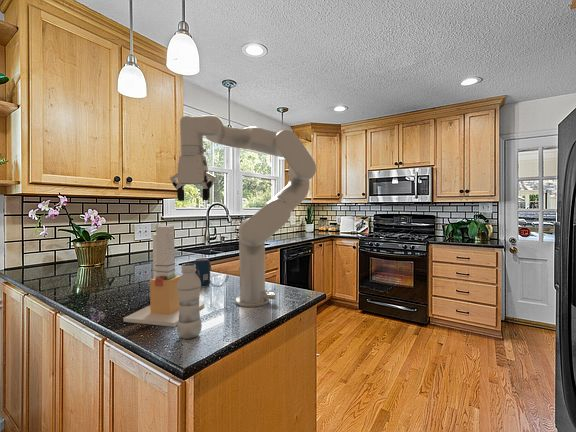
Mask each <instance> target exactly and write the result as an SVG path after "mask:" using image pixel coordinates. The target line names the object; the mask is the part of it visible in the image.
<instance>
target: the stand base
mask: <svg viewBox="0 0 576 432" xmlns="http://www.w3.org/2000/svg"><path fill="white" fill-rule="evenodd" d="M181 276H182V275H176V277H174V278H172V279H169V280H164V277H157V278H151V279H150V280H149V295H150V296H149V298H150V299H149V301H150V303H149V305H147V306H145V307H143V308H141V309H139V310H137V311H134V312H132V313H131V314H129V315H126V316H125V317H123V319H122V320H123V323H124V322H125V323H132V324H143V325H152V326H153V325H155V326H164V327H174V328H175V327H177V326H178V321H179V297H178V291H177V283H178V280H179V279H180V277H181ZM203 308H205V303H202V302H199V311H200V310H202V309H203Z"/></svg>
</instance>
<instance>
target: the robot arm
mask: <svg viewBox="0 0 576 432" xmlns="http://www.w3.org/2000/svg"><path fill="white" fill-rule="evenodd" d="M179 127H180V131H179V133H180V155H179V157H178V163H177V173H176V174H174V175H173V176H172V175H171V177H170V178H169V179H170V182H171V183H172V186H173V187H174V188H175V190H176V194H177V196H176V197H177V201H179V202H184V201H185V190H184V188H185V186H186V185H188V186H189V185H190V186H191V185H201V186H202V187H203V189H202V200H203V201H209V199H210V189H211V188H212V187H213V185H214V183H215V181H216V178H217V177H216V176H215V175H213V174H212V173H210V172H209V167H208V162H207V157H206V156H205V155H204V153H206V152H207V149H206V148H204V142H203V141H204V139H203V138H204V137H205V138H206V139H207V140H208V141H209V142H212V143H214V144H218V145H222V146H226V147H231V148H237V149H241V150H242V149H243V150H250V151H255V152H259V153H263V154H267V155H270V156H274V157H280V158H283V159H284V160H285V161H286V163H287V165H288V177H289V178H288V182H287V185H286V186H285V187H283V188H282V189H281V190H280V191H279V192H278V193H276V195H274V196H273V197H272V198H271V199H269V200H268V201H266V202H265V203H264V204H263V206H262V207H261V208H260V209H259V210H258V211H257V212H255V213H254V214H253V215H252V216H251V217H248V218H245V219H244V220H243V221H242V222H241V223H240V225H239V227H238V243H239V244H238V245H239V246H238V247H239V249H238V250H239V252H238V253H239V256H238V257H239V261H238V262H239V263H238V264H239V265H238V266H239V268H238V269H239V271H238V272H239V296H237V297H236V298H235V304H236V305H237V306H241V307H246V308H255V307H256V308H257V307H261V306H265V305H267V304H269V302H270V300H276V298H277V295H276V294H275V292H269V291H268V288H266V248H265V244H266V241H268V239H270V238H271V237H272V236H273V235H274V234H275V233H277V232H279V230H280V229H281V228H282V227H284V226H285V225H286V223H287V222H288V221H289V220H290V217H291V213H292V211H293V210H295V208H297V207H298V206H300V204H301V203H302V202H303V201H304V200H305V199H306V197H307V196H308V193H309V190H310V189H309V188H310V180H311V179H312V178H313V177H314V176H315V175H316V172H317V165H316V162H315V160H314V158H313V157H312V155H311V154H310V152H309V151H308V150H307V148H306V147H305V145H304V144H303V141H301V139H300V138H299V136H298V135H297V134H296V133H295V132H294V131H292V130H291V129H282V130H280V131H279V132H277V131H273V130H269V129H266V128H262V127H258V126H247V127H244V128H238V127H237V128H236V127H231V126H226V125H224V121H223V120H222V119H221V118H220V116H217V115H214V114H213V115H212V114H210V115H200V116H195V115H184V116H182V117H181V118H180V121H179Z"/></svg>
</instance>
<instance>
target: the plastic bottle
mask: <svg viewBox="0 0 576 432" xmlns="http://www.w3.org/2000/svg"><path fill="white" fill-rule="evenodd" d="M195 271H196V265H195V264H194V263H185V264H181V273H182V275H180V276H181V277H180V279H179V280H178V283H177V291H178V297H179V321H178V325H177V326H176V330H177V336H178V337H179V338H180V339H183V340H187V339H188V340H191V339H194V338H196V337H198V336H199V335H200V334H201V332H202V327H203V326H202V324H203V323H202V320H201V313H200V310H199V303H200V296H201V290H202V287H201V281H200V279H199V277H198V276H197V275H196V274H195Z"/></svg>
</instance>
